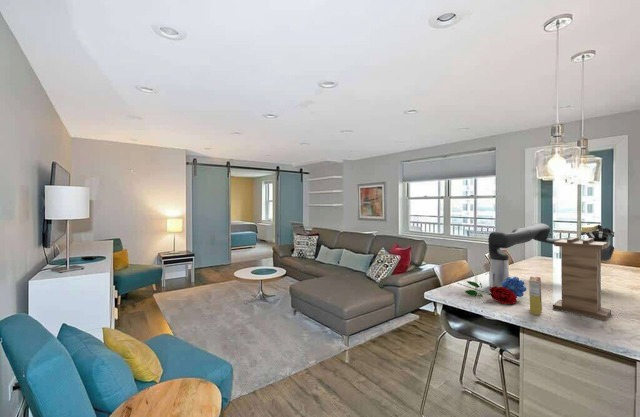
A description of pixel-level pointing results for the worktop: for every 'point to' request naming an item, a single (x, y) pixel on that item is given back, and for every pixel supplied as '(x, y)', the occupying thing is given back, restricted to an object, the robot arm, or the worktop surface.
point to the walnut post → (581, 278)
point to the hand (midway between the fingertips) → (594, 226)
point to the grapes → (514, 285)
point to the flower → (495, 293)
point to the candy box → (535, 295)
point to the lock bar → (590, 228)
